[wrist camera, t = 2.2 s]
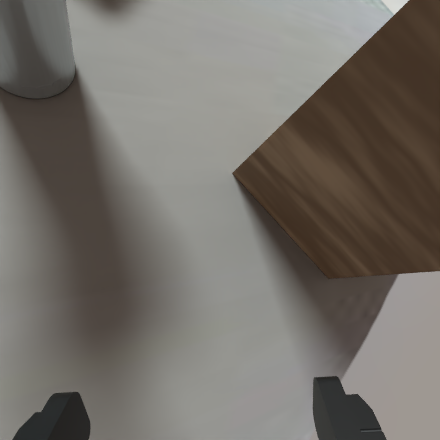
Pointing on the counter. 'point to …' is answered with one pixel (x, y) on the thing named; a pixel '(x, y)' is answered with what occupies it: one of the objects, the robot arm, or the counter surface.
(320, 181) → the stand
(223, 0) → the counter surface
